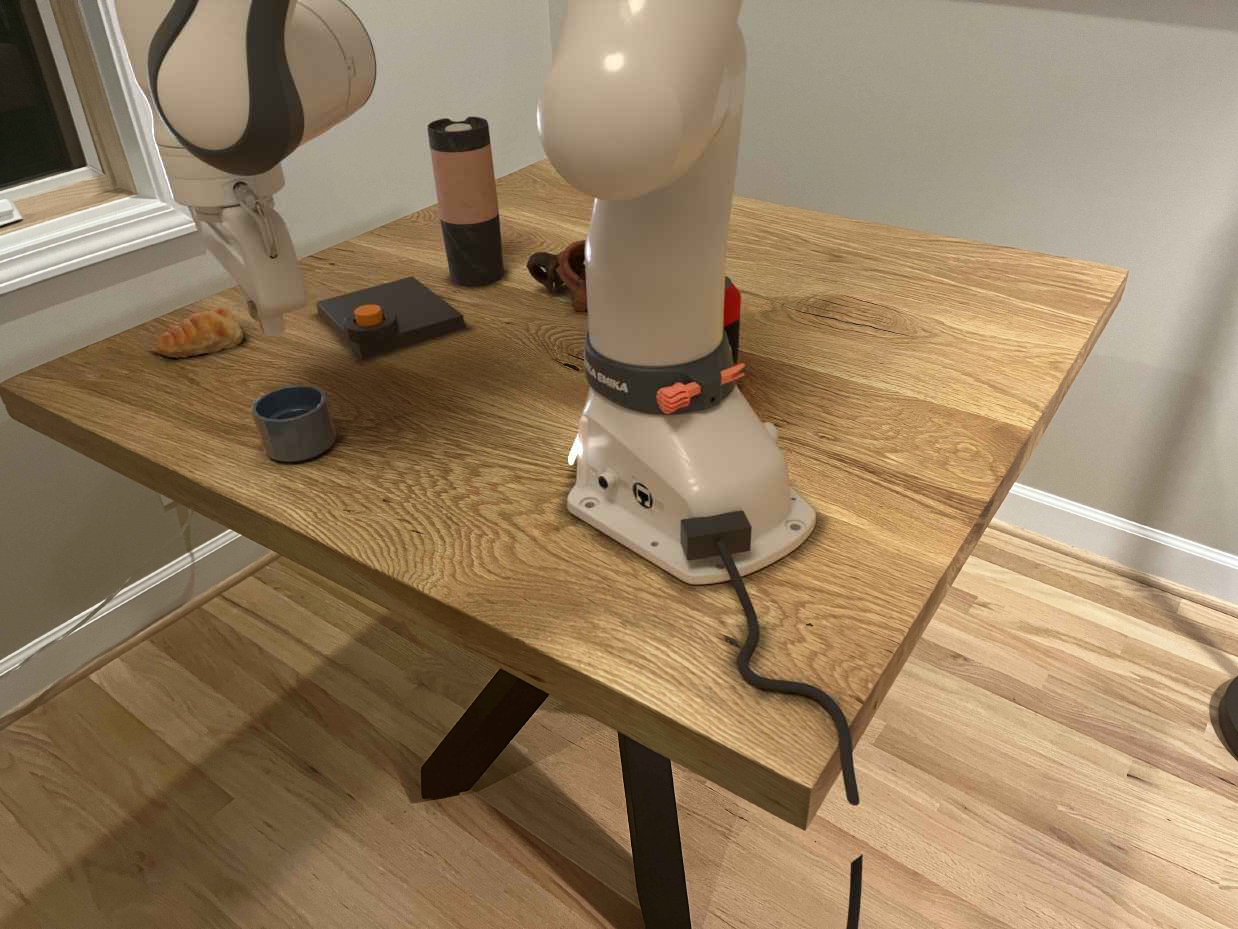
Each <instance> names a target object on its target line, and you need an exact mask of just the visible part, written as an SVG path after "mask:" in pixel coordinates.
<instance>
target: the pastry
mask: <svg viewBox="0 0 1238 929" xmlns="http://www.w3.org/2000/svg"><path fill="white" fill-rule="evenodd" d="M243 338H244V334H243V331H242V329H241V327H240V324H239V323H238V321H237V320H236V318H235V317H234V315H233V312H232V311H231V309H230V308H229V307H228V306H222V305H219V306H217V308H216V309H212V310H204V311H201V312H195V313H192V314H191V315H189V316H188V317H187V318H186V319H183V320H181V321H180V322H179V323H178V324H173V325H171V326H170V327H169V328H168V329H167V330H164V331H163V332H162V333H159V335H158V336H157V338H156V340H155V348H156V351H157V353H158V354H160V355H163V356H165V357H167V358H168V357H169V358H176V359H177V360H178V359H179V358H182V359H184V358H185V359H186V358H187V357H191V356H197V357H198V356H200V355H205V354H211V353H216V352H219V351H220V350H222V349H229V348H233V347H235V346H237V345H239V344H241V343H242V342H243Z"/></svg>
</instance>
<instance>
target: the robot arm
mask: <svg viewBox="0 0 1238 929" xmlns="http://www.w3.org/2000/svg"><path fill="white" fill-rule="evenodd" d="M743 2H744V0H567V1H566V5H565V9H564V13H563V18H562V23H561V29H560V33H559V36H558V41H557V45H556V48H555V52H554V56H553V59H552V61H551V64H550V67H549V69H548V71H547V74H546V75H545V76H546V77H545V79H544V81H543V84H542V86H541V89H540V93H539V95H538V99H537V100H538V101H537V109H536V124H537V131H538V132H537V133H538V135H539V140H540V143H541V146H542V149H543V151H544V153H545V155H546V158H547V159H548V161H549V163H550V165H551V166H552V168H554V170H555V171H556V172H557V174H558V175H559V176H560V177H561V178H562V179H563V181H565V182H566V183H567V184H569V185H570V186H571V187H573V188H574V189H575V190H576V191H579V192H580V193H582V194H584V195H587V196H589V197H591V198H593V204H592V211H591V216H590V222H589V226H588V229H587V233H586V237H585V240H586V242H585V260H584V264H585V271H586V281H585V285H586V286H585V287H586V288H587V305H588V308H587V320H588V330H587V332H586V333H585V337H584V348H583V364H584V367H585V368H584V369H585V378H586V381H587V383H588V385H589V389H588V393H587V396H586V400H585V403H584V406H583V409H582V412H581V414H580V417H579V420H578V425H577V426H578V427H577V436H576V438H575V440H574V443H573V445H572V447H571V450H570V452H569V455H568V464H569V465H571V466H573V464H574V463H575V460H576V482H575V484H574V486H572V488H571V490H570V492H569V493H568V495H567V498H566V509H567V512H569V513H570V514H572V515H573V516H575V517H576V518H578V519H580V520H581V521H583V522H585V523H586V524H588V525H589V526H592V528H594V529H596V530H598V531H600V532H601V533H602V534H605V535H606V536H608V537H609V538H611V539H612V540H614V541H616V542H618V543H620V544H621V545H622V546H624V547H626V548H628V549H629V550H631V551H632V552H634V553H635V554H637V555H639V556H640V557H642V558H644V559H645V560H647V561H649V562H650V563H652V564H653V565H656V567H658V568H660V569H662V570H664V571H666V572H667V573H669V574H670V575H671V576H674V577H675V578H677V579H679V580H680V581H682V582H684V583H687V584H689V585H708V584H709V585H711V584H716V583H717V584H718V583H724V582H727V581H731V584H732V585H733V587H734V588H733V589H734V590H735V593H736V596H737V598H738V600H739V602H740V605H741V607H742V609H743V613H744V615H745V617H746V621H747V626H748V633H747V638H746V641H745V642H744V644H743V646H742V648H741V649H740V651H739V652H738V655H737V658H736V666H737V669H738V671H739V673H740V675H741V676H742V677H743V678H744V679H745V681H747V682H748V683H750V684H751V685H753V686H754V687H758V688H761V689H763V690H764V689H765V690H770V691H775V692H785V693H793V694H799V695H804V696H807V697H810V698H812V699H813V700H816V701H817V702H818V703H819V704H820V705H822V706H823V707H824V708H825V710H827V712H828V713H829V715H830V716H831V717H832V718H833V721H834V723H835V725H836V729H837V734H838V742H839V754H840V755H839V756H840V765H841V773H842V780H843V784H844V790H845V796H846V799H847V801H848V804H850V805H852V806H854V807H855V806H858V805H860V794H859V789H858V784H857V779H856V778H857V777H856V773H855V765H854V757H853V756H854V754H853V744H852V737H851V731H850V727H849V724H848V720H847V718H846V716H845V714H844V712H843V710H842V709H841V708H840V706H839V705H838V703H837V702H836V701H835V700H834V699H833V698H832V697H831V696H830V695H829V694H827V693H826V691H824V690H822V689H821V688H819V687H817V686H814V685H812V684H809V683H805V682H804V683H803V682H799V681H792V680H783V679H774V678H769V677H764V676H761V675H759V674H758V673H755V672H754V671H753V670H752V669H751V668H750V666H749V663H748V661H749V658H750V655H751V654H752V652H753V651H754V649H755V647H756V646H757V642H758V640H759V635H760V628H759V621H758V617H757V612H756V609H755V607H754V604H753V602H752V600H751V598H750V596H749V592H748V591H747V589H746V586H745V583H744V581H743V579H742V577H744V576H747V575H749V574H752V573H754V572H757V571H759V570H761V569H763V568H765V567H767V566H769V565H771V564H773V563H775V562H777V561H779V560H780V559H782V558H784V557H786V556H787V555H789V554H791V553H792V552H793V551H795V550H796V549H797V548H799V547H800V546H801V545H802V544H804V542H806V540H807V539H808V538H809V537H810V535H811V534H812V532H813V530H814V528H815V527H816V523H817V513H816V511H815V510H814V508H813V507H812V506H811V505H810V504H809V503H808V502H807V501H806V500H805V499H804V498H803V497H802V496H801V495H800V494H799V493H798V492H797V491H796V490H795V488H793V487H792V486H791V485H790V475H789V467H788V463H787V458H786V456H785V455H784V453H783V450H781V448H780V447H779V446H778V444H779V441H780V436H779V432H778V429H777V427H776V426H775V424H774V423H772V422H770V421H766V422H762V420H761V419H760V417H759V416H758V415H757V413H756V412H755V410H754V409H753V407H752V406H751V405H750V402H749V401H748V400H747V399H746V398H745V396H744V394H743V393H742V391H741V389H739V387H738V384H737V385H736V382H737V383H738V379H740V378H741V377H744V376H745V373H744V372H740V371H741V370H743V369H744V368H745V367H746V364H745V363H744V362H742V363H738V365H736V366H734V363H733V358H732V352H731V347H730V345H729V342H728V338H727V334H726V332H725V330H724V329H723V318H724V292H725V276H726V269H727V268H726V265H727V246H728V236H729V229H730V228H729V227H730V226H729V225H730V220H731V214H732V207H733V206H732V205H733V200H734V192H735V183H736V178H737V177H736V176H737V169H738V159H739V152H740V151H739V150H740V144H741V143H740V142H741V141H740V140H741V133H742V122H743V114H744V101H745V90H746V80H747V79H746V78H747V71H748V70H747V68H748V55H747V47H746V42H745V37H744V34H743V31H742V29H741V27H740V25H739V23H738V21H739V17H740V12H741V9H742V6H743ZM113 3H114V8H115V13H116V18H117V22H118V27H119V30H120V36H121V39H122V42H123V46H124V49H125V52H126V56H127V59H128V62H129V65H130V69H131V71H132V75H133V78H134V81H135V83H136V85H137V87H138V89H139V90H140V92H141V93H142V95H143V96H144V98H145V100H146V102H147V105H148V106H149V110H150V114H151V119H152V121H151V122H152V136H153V140H154V141H153V142H154V144H155V147H156V151H157V153H158V157H159V160H160V164H161V167H162V169H163V172H164V176H165V178H166V181H167V185H168V188H169V191H170V194H171V198H172V199H173V201H174V202H175V203H176V204H178V205H181V206H185V207H187V208H188V211H189V214H190V216H191V219H192V220H193V223H194V226H195V228H196V230H197V232H198V235H199V237H200V238H201V240H202V242H203V244H204V245H205V248H206V249H207V250H208V251H209V252H210V253H211V254H212V256H213V257H214V258H215V259H216V260H217V261H218V262H219V263H220V265H221V266H222V267H223V269H225V271H226V272H227V273H228V274H229V275H230V276H231V277H232V279H233V280H234V281H235V282H236V285H237V287H238V289H239V291H240V294H241V296H242V298H243V300H244V302H245V306H246V309H247V313H248V315H249V316H250V317H251V318H252V320H254V321H255V322H258V324H259V327H260V329H261V330H262V331H263V333H264V335H266V337H270V338H271V337H273V336H278V335H282V334H283V333H285V332H286V325H285V321H284V317H283V315H284V314H286V313H290V312H293V311H296V310H300V309H303V308H305V307H306V306H307V303H308V292H307V288H306V284H305V281H304V277H303V274H302V271H301V270H302V269H301V266H300V264H299V263H300V262H299V260H298V256H297V253H296V250H295V246H294V243H293V240H292V237H291V234H290V232H289V229H288V226H287V224H286V222H285V220H284V218H283V217H282V215H281V214H280V213H279V212H278V210H276V209H275V206H276V203H275V199H274V196H273V195H275V194H276V193H279V192H280V191H281V190H282V189H283V188H284V187H285V185H286V178H285V174H284V171H283V167H282V163H281V162H283V161H284V160H285V159H286V158H288V157H289V156H291V154H293V153H294V152H295V151H296V150H297V149H298V148H299V147H302V146H303V145H305V144H307V143H308V142H310V141H312V140H314V139H316V138H318V137H319V136H321V135H323V134H324V133H326V132H329V131H330V130H331V129H332V128H333V127H335V126H337V125H339V124H340V123H342V122H344V121H346V120H348V119H349V118H350V117H352V116H353V115H354V114H355V113H356V112H357V111H359V110H361V108H363V107H364V106H365V105H366V104H367V102H368V101H369V99H370V98H371V96H372V94H373V92H374V89H375V86H376V80H377V59H376V53H375V49H374V46H373V42H372V40H371V37H370V35H369V33H368V31H367V29H366V27H365V25H364V24H363V22H362V20H361V19H360V18H359V16H358V14H356V13H355V11H354V10H353V9H352V8H351V7H350V6H348V5H347V4H346V3H345V2H344V1H342V0H113ZM739 372H740V373H739ZM736 373H737V374H736ZM863 855H864V854H860V855H859V856H858V857H857V858H855V859H854V860H852V861H851V862H850V871H849V872H850V874H849V875H850V876H849V896H848V907H847V908H848V909H847V910H848V911H847V920H846V928H845V929H859V923H860V913H861V904H862V903H861V902H862V887H863V886H862V884H863V862H864V861H863V860H864V856H863Z"/></svg>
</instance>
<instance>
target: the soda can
mask: <svg viewBox="0 0 1238 929" xmlns="http://www.w3.org/2000/svg"><path fill="white" fill-rule="evenodd" d="M741 307H742V294H741V292H740V291H739V289H738V288H737V287H736V286H735V284H734V283H733V281H732V280H731V278H730V277H729V276H727V275H725V292H724V318H723V329H724V330H725V332H726V334H727V338H728V342H729V345H730V347H731V352H732V358H733V363H734V366H736V365H739V350H740V349H739V347H740V330H741V329H740V326H741ZM736 374H738V372H737V373H736ZM736 385H737V386H738V381H737V382H736Z"/></svg>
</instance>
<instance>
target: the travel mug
mask: <svg viewBox="0 0 1238 929" xmlns="http://www.w3.org/2000/svg"><path fill="white" fill-rule="evenodd" d="M427 136H428V142H429V149H430V150H429V151H430V157H431V165H432V172H433V178H434V186H435V192H436V193H435V194H436V200H437V207H438V215H439V221H440V227H441V233H442V236H443V243H444V244H443V245H444V248H445V249H444V250H445V254H446V260H447V265H448V270H449V275H450V280H451V282H452V283H453V284H454V285H457V286H459V287H460V286H461V287H466V288H477V287H478V288H479V287H486V286H489V285H493V284H495V283H498V282H499V281H501V280H502V279H503V277H504V259H503V258H504V257H503V247H502V234H501V221H500V209H499V200H498V194H497V193H498V192H497V185H496V175H495V168H494V160H493V152H492V143H491V136H490V126H489V122H488V120H487V119H485V118H484V117H479V116H468V117H466V119H464V120H459V121H456V120H455V121H454V120H451V119H450V118H448V117H444V118H440V119H436V120H433V121H431V122H430V123H428V124H427Z"/></svg>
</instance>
